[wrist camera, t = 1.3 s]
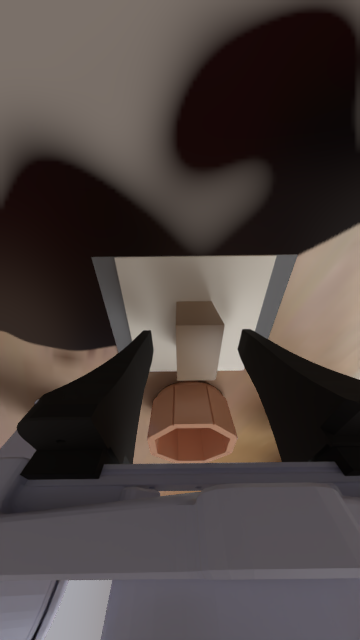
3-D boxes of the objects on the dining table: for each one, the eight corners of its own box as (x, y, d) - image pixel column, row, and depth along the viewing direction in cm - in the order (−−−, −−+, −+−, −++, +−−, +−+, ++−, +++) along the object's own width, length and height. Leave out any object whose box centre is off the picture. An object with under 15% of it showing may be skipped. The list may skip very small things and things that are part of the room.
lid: (139, 367, 17) (127, 407, 13) (117, 256, 11) (81, 265, 7) (241, 366, 17) (261, 405, 13) (272, 255, 11) (326, 262, 7)
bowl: (158, 422, 23) (153, 463, 19) (151, 381, 19) (143, 424, 14) (218, 421, 23) (228, 462, 19) (228, 380, 19) (243, 423, 14)
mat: (124, 365, 17) (123, 368, 17) (93, 256, 11) (91, 257, 11) (256, 363, 17) (258, 365, 17) (294, 254, 11) (297, 254, 11)
